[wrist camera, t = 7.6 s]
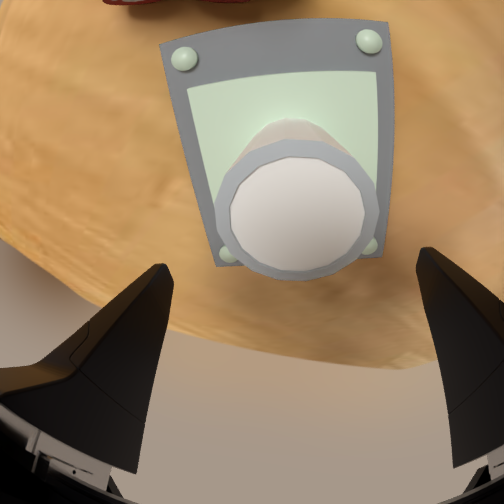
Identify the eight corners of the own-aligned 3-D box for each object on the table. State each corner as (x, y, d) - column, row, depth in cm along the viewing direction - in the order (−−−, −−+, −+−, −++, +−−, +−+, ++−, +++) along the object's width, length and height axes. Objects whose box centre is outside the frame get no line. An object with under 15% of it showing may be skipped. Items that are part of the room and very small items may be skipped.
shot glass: (247, 96, 14) (225, 121, 9) (361, 125, 15) (406, 169, 9) (229, 197, 19) (206, 267, 13) (328, 218, 19) (344, 294, 14)
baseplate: (383, 23, 11) (393, 20, 10) (379, 251, 22) (385, 265, 21) (163, 44, 14) (152, 44, 12) (217, 260, 25) (213, 274, 23)
